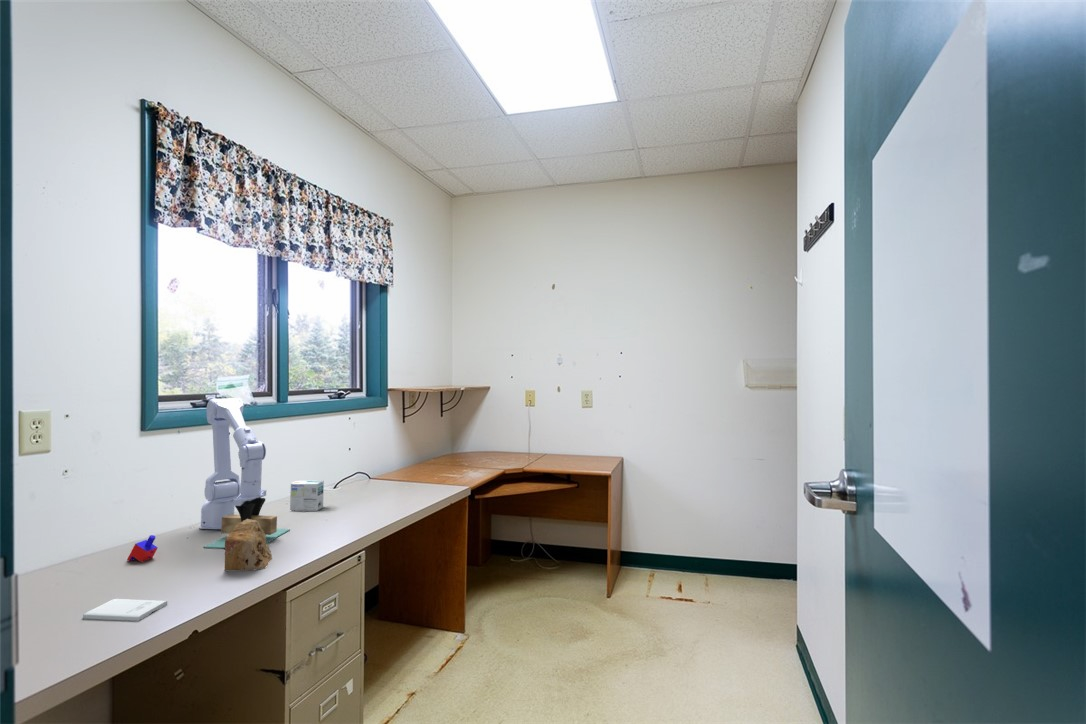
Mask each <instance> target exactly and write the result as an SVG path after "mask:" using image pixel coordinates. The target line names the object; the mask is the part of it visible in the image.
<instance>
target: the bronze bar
mask: <svg viewBox="0 0 1086 724" xmlns="http://www.w3.org/2000/svg"><path fill="white" fill-rule="evenodd" d="M251 520H256V521H257V522H258V523H259V525H260V527H261V529H262V530H263V531H264V533H265V535H271V534H273V533H275V532H277V529H278V528H277V526H278V516H277V515H260V514H259V515H252V516H251ZM238 523H242V521H241V517H240V514H234V515H227V516H224V517H222V528H221V529H220V530H221V531H220V532H221V534H228V535H229V534H230V533H231V532H232V531H233V530H234V528H235V526H236V525H237V524H238Z"/></svg>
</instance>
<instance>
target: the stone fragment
mask: <svg viewBox="0 0 1086 724" xmlns="http://www.w3.org/2000/svg"><path fill="white" fill-rule="evenodd" d="M226 536H227V535H226ZM271 553H272V551H271V549H270V547H269V546H268V544H267V543H266V535H265V533H264V531H263V530H262V529H261V527H260V525H259V523H258V522H257V521H256V520H251V519H246V520H244V521H243V522H242V523H238V524H237V525H236V526H235V528H234V530H233V531H232V532H231V533H230V534H229V533H228V536H227V537H226V539H225V549H224V571H225V570H240V571H258V570H257V569H259V570H262V569H261V568H264V569H266V568H267V567H268V566H267V565H268V562H269V561H270V560H271V561H272V560H273V557H272V554H271ZM271 561H270V562H271ZM270 562H269V563H270ZM266 566H267V567H266ZM265 567H266V568H265ZM254 569H256V570H254Z"/></svg>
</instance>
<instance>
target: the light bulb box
mask: <svg viewBox="0 0 1086 724" xmlns="http://www.w3.org/2000/svg"><path fill="white" fill-rule="evenodd" d="M324 483H325V481H324V480H295V481H293V482H291V483H290V501H289V502H290V503H289V504H290V505H289V511H290V510H292V511H291V512H317V511H319V510H321V509H322V508H324V487H325V486H324ZM294 510H295V511H294Z"/></svg>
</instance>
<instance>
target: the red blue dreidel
mask: <svg viewBox="0 0 1086 724" xmlns="http://www.w3.org/2000/svg"><path fill="white" fill-rule="evenodd" d="M155 540H156V535H153V534H151V535H149V536H148V538H147V539H145V540H142V541H139V542H137V543H136V542H135V544H134V546H133V547H132V549H131V551H130V554H129V555H128V557H127V559H126V561H128V562H132V561H134V560H136V561H137V560H138V561H139V562H140V563H143V562H145V560H146V561H148V560H151V559H153V557H154V556H155V554H156V552H157V550H158V546H157V545H155V544H153V543H154V541H155ZM150 558H151V559H150ZM133 559H134V560H133ZM131 560H132V561H131ZM142 561H143V562H142Z"/></svg>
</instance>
